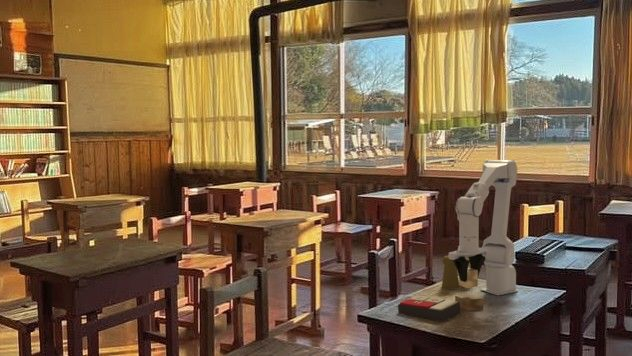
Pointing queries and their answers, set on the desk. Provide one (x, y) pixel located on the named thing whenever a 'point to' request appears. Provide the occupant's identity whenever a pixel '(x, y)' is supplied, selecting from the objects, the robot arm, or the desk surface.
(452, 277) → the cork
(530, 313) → the desk surface
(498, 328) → the desk surface
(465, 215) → the robot arm
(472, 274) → the beech block
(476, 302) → the walnut base
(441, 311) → the calculator
